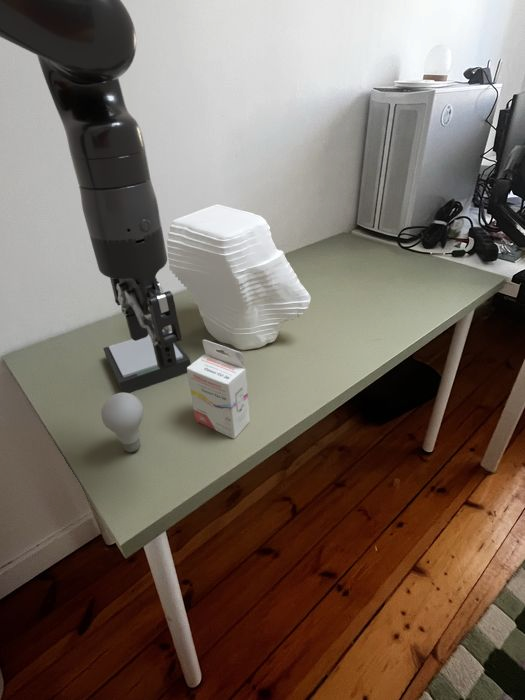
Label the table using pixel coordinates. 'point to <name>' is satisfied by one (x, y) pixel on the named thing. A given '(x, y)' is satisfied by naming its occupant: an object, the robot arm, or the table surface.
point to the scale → (141, 364)
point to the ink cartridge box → (220, 390)
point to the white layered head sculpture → (235, 275)
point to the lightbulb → (124, 418)
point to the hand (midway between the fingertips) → (153, 351)
